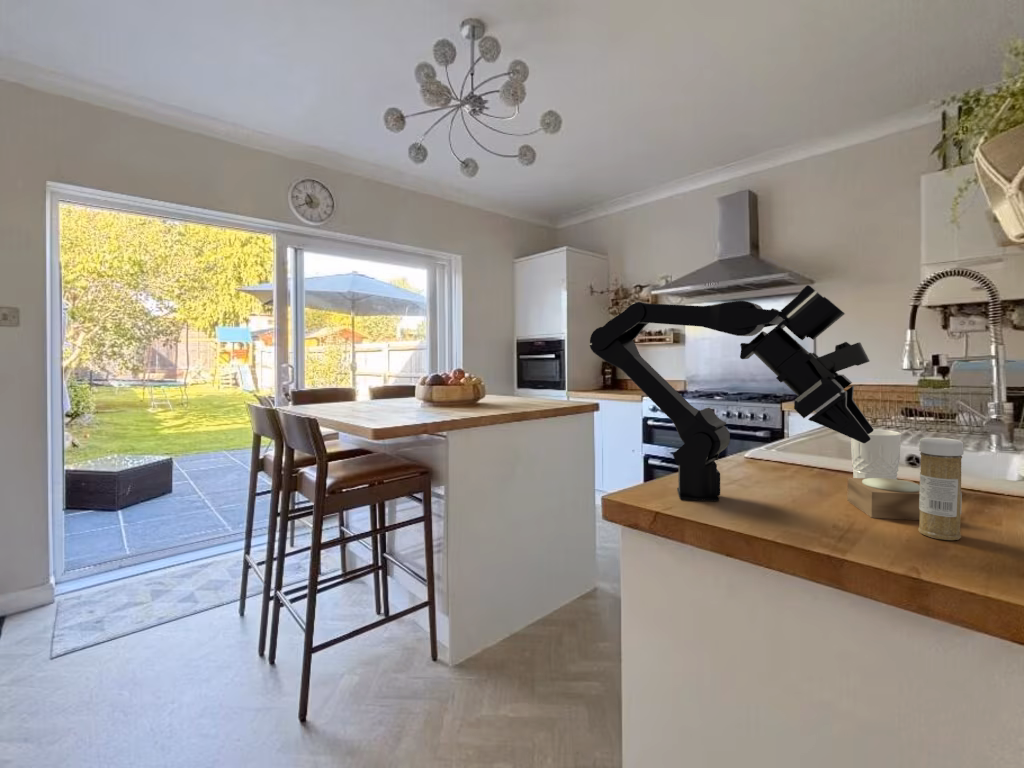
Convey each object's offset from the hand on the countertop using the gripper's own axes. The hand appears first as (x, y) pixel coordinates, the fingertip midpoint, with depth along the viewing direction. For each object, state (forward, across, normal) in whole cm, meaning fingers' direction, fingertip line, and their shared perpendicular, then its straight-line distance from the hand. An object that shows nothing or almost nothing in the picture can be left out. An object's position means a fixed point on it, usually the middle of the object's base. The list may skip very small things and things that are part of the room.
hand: (869, 436), depth 72 cm
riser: (+11, +9, +7) cm, 16 cm away
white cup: (+10, +28, +9) cm, 31 cm away
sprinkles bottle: (+15, -1, +3) cm, 15 cm away
